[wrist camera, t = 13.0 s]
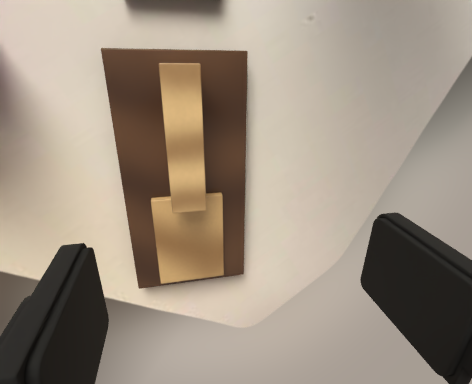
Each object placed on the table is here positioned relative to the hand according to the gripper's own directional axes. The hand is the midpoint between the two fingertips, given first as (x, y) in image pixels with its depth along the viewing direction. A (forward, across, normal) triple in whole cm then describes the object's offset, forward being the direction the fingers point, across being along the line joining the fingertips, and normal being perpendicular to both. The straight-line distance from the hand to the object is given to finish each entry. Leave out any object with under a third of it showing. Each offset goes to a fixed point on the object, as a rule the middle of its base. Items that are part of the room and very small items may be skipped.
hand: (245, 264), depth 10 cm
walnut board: (+21, +1, +5) cm, 22 cm away
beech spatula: (+19, +1, +5) cm, 20 cm away
